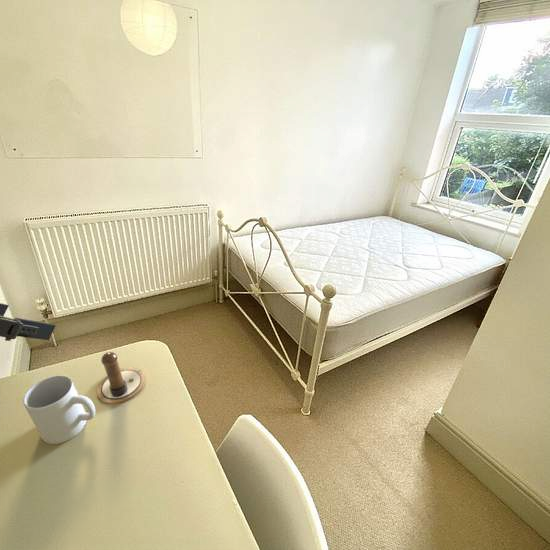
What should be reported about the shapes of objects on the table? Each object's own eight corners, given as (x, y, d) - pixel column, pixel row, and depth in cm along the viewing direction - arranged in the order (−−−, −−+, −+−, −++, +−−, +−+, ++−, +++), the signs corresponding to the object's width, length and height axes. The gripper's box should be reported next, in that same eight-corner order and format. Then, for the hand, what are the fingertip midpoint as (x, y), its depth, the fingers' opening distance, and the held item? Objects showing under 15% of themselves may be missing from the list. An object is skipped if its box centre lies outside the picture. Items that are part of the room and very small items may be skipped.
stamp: (107, 393, 74) (95, 356, 68) (120, 382, 77) (108, 346, 71) (118, 399, 72) (106, 361, 67) (130, 388, 75) (120, 351, 69)
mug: (31, 444, 63) (11, 408, 58) (57, 408, 70) (41, 374, 65) (90, 445, 63) (75, 410, 58) (110, 409, 71) (98, 375, 65)
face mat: (86, 393, 74) (86, 391, 74) (123, 363, 83) (123, 361, 83) (119, 410, 70) (119, 409, 70) (155, 377, 79) (154, 375, 79)
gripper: (-207, 295, 41) (-24, 322, 60) (-119, 354, 32) (62, 363, 52) (-172, 244, 43) (-4, 286, 62) (-78, 287, 34) (82, 320, 53)
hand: (26, 321), depth 57 cm, fingers open, 13 cm apart
